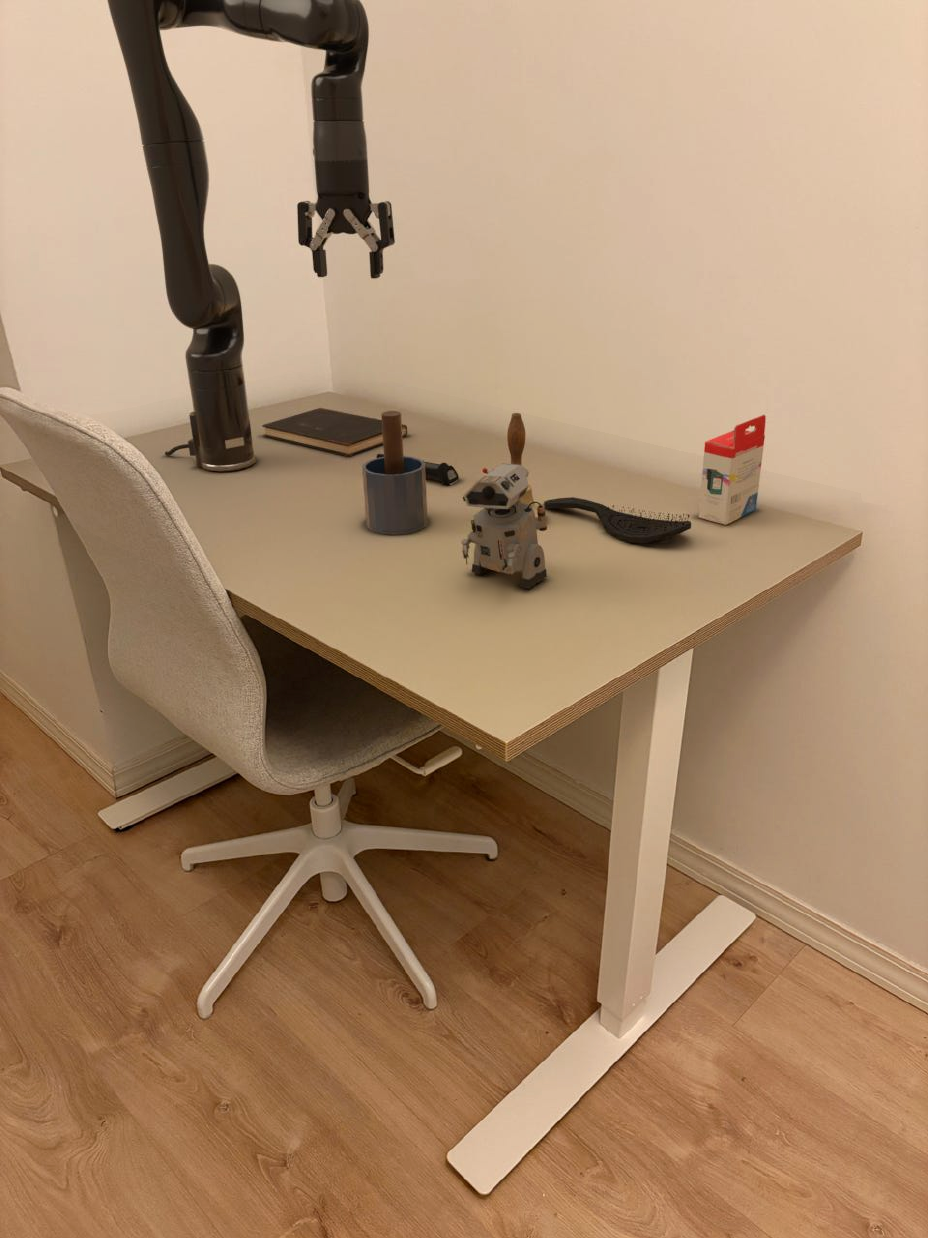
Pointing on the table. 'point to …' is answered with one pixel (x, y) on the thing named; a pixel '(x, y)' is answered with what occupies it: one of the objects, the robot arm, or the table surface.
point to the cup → (395, 497)
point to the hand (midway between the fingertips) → (348, 277)
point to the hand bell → (519, 451)
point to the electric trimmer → (438, 472)
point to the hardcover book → (329, 431)
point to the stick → (392, 442)
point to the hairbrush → (626, 521)
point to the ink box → (732, 473)
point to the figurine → (505, 526)
